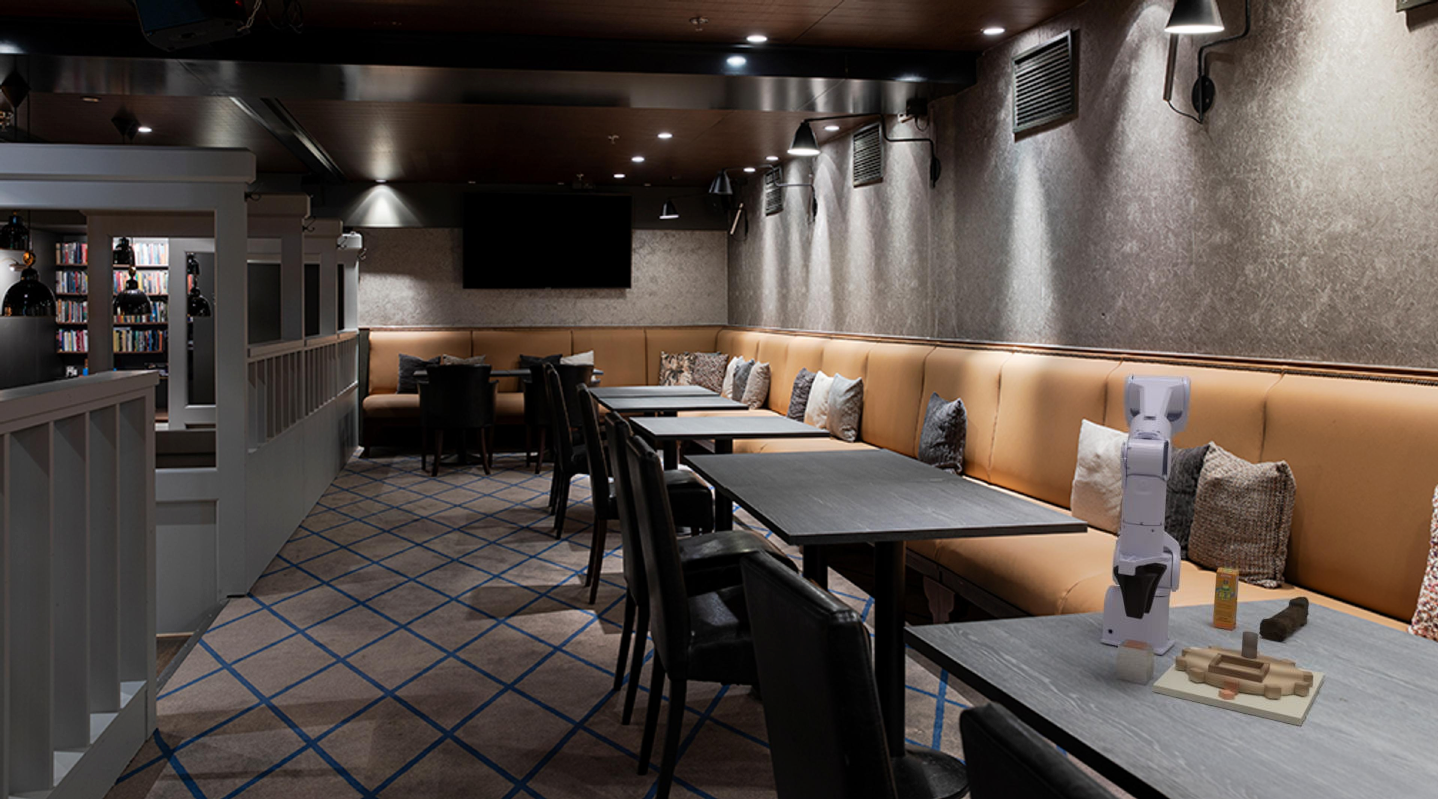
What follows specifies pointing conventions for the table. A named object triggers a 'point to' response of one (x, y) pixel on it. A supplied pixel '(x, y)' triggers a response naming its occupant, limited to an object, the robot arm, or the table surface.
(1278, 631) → the dark brown log
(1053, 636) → the table surface
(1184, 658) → the sprocket disc
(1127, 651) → the copper-capped metal cube
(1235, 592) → the supplement box
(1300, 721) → the index plate
